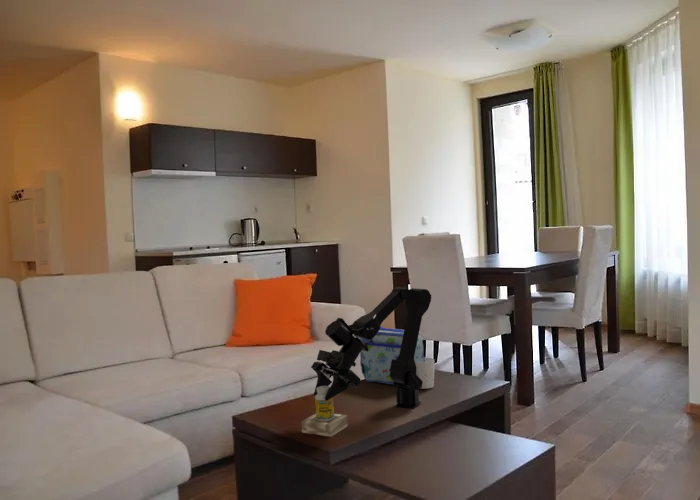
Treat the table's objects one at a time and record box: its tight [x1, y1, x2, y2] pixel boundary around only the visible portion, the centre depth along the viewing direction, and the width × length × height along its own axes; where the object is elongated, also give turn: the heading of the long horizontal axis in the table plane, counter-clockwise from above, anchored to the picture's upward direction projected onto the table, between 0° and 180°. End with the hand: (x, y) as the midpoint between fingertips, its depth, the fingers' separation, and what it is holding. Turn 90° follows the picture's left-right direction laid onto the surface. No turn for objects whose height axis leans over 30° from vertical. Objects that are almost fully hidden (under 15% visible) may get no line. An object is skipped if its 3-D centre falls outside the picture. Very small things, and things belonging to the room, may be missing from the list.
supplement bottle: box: [314, 385, 335, 422], centre depth 182 cm, size 5×5×10 cm
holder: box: [301, 413, 348, 437], centre depth 182 cm, size 10×10×3 cm
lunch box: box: [359, 326, 425, 386], centre depth 233 cm, size 26×11×21 cm, turn 47°
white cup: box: [415, 357, 435, 390], centre depth 224 cm, size 8×8×10 cm
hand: (320, 397), depth 181 cm, fingers closed on supplement bottle, 5 cm apart
